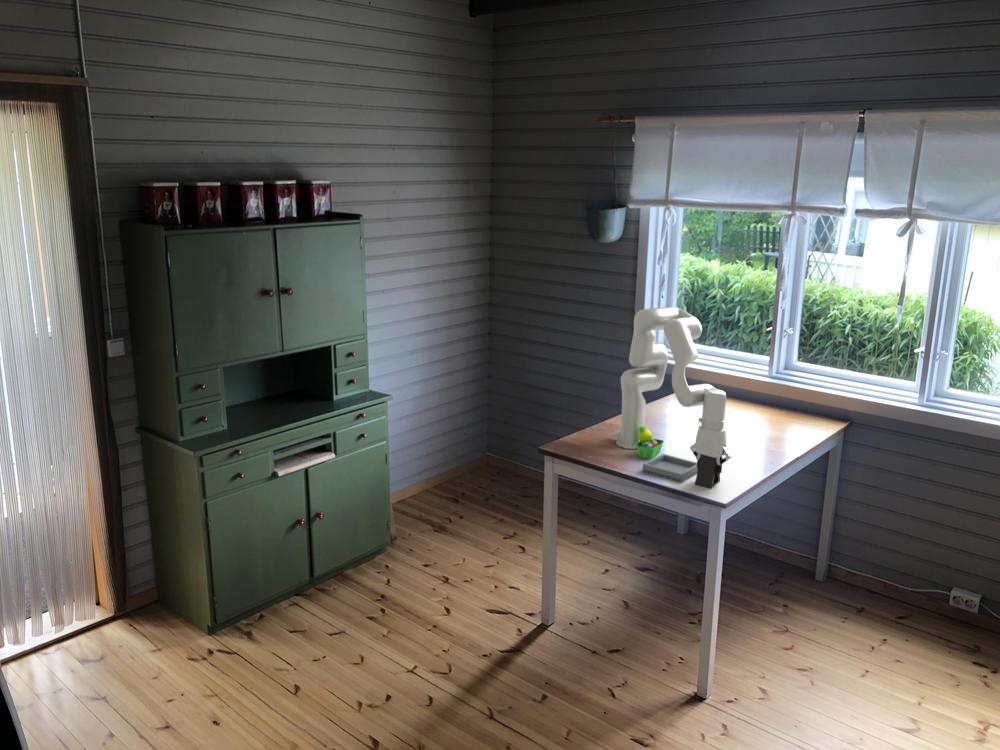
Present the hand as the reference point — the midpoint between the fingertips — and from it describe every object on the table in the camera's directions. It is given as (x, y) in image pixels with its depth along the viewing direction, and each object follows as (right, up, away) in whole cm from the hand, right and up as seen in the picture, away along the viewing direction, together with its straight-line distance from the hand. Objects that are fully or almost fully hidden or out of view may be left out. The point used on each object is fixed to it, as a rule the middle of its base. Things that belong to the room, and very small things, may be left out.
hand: (708, 471), depth 286 cm
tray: (-11, -1, +11) cm, 16 cm away
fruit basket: (-17, +3, +29) cm, 33 cm away
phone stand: (0, -4, +1) cm, 4 cm away
